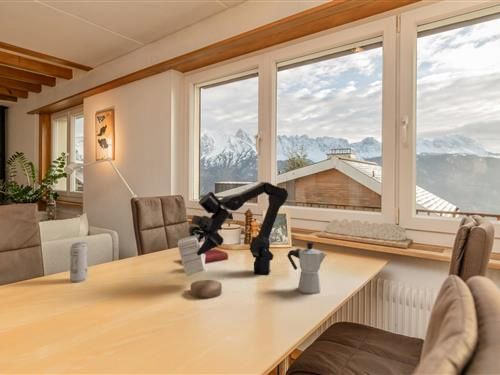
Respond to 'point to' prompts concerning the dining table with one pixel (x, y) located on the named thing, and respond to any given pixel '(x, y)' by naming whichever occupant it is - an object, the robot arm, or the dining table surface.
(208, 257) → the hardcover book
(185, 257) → the supplement box
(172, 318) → the dining table surface
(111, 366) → the dining table surface
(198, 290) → the walnut pedestal
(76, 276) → the energy drink can
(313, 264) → the coffee maker
